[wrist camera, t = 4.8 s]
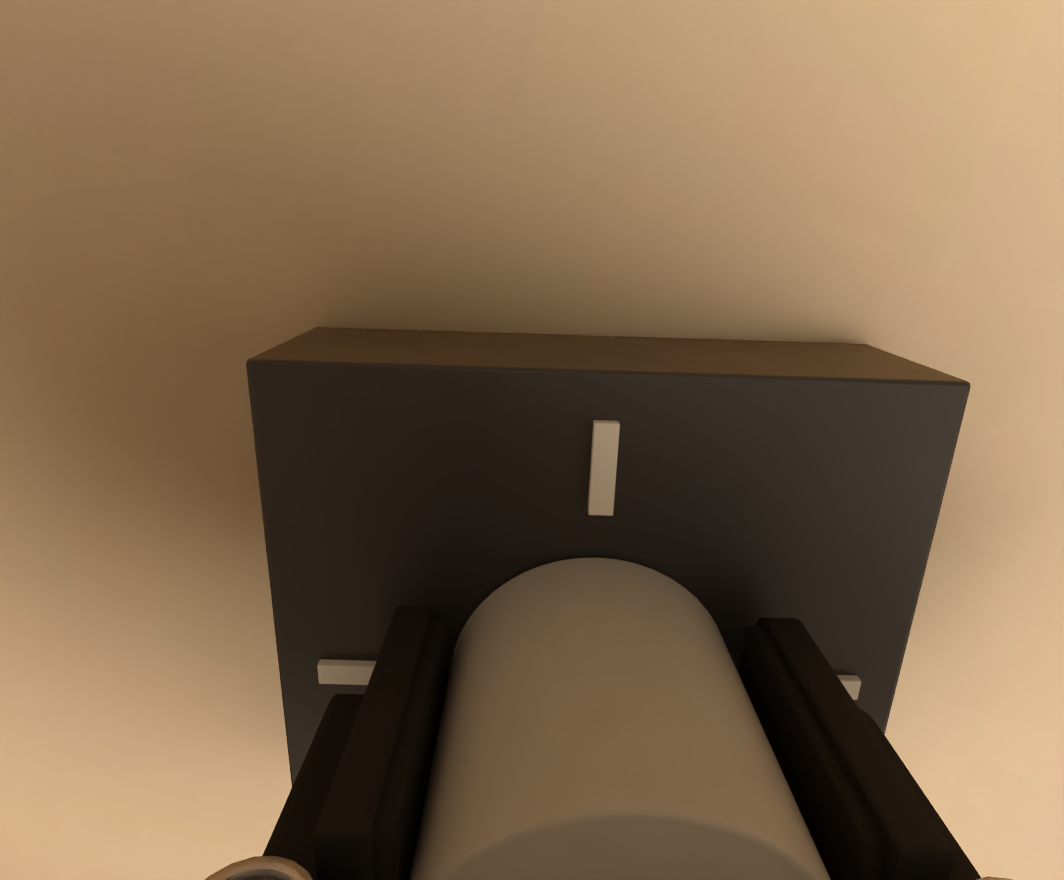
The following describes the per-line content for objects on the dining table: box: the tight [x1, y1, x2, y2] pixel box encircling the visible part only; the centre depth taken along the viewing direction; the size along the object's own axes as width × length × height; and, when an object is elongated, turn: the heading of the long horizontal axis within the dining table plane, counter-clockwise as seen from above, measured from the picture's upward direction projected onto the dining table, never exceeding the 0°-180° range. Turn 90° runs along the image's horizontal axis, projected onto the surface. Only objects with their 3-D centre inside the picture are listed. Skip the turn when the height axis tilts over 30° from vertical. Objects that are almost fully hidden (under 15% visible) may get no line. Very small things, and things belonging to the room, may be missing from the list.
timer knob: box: [409, 558, 831, 880], centre depth 8 cm, size 4×4×5 cm
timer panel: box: [246, 327, 970, 787], centre depth 12 cm, size 10×10×3 cm
